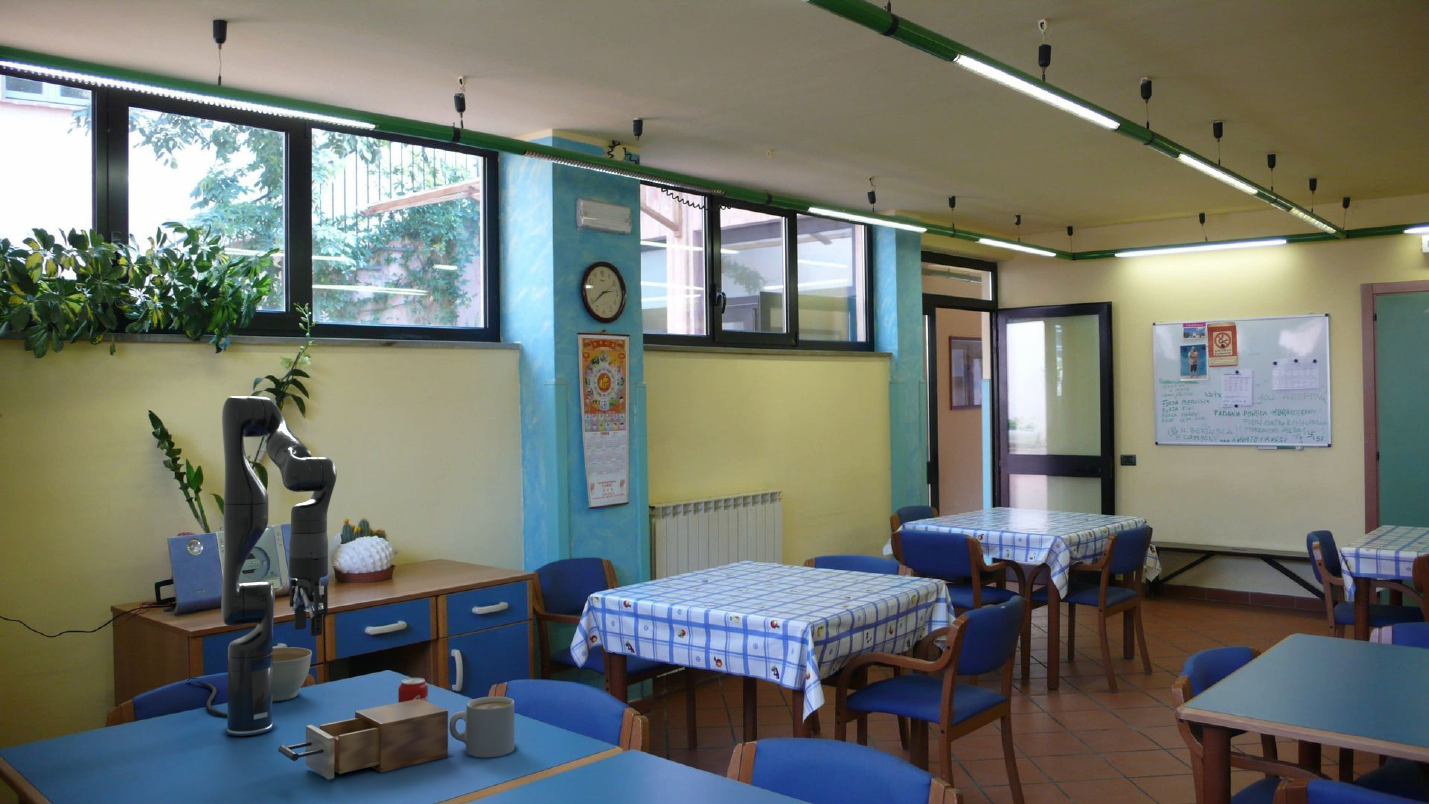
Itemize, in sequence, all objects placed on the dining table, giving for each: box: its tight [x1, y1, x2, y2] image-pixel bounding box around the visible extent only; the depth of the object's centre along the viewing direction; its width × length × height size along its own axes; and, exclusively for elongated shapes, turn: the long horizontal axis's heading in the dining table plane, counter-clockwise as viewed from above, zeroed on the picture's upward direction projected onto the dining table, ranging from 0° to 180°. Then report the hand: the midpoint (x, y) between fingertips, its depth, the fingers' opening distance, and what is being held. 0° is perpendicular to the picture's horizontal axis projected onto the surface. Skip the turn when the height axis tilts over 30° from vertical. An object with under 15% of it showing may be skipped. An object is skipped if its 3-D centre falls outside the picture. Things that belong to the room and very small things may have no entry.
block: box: [334, 736, 338, 763], centre depth 209 cm, size 4×4×4 cm
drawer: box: [277, 717, 380, 780], centre depth 207 cm, size 20×11×8 cm, turn 132°
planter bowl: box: [272, 646, 313, 702], centre depth 263 cm, size 16×16×11 cm
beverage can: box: [397, 677, 429, 703], centre depth 232 cm, size 6×6×12 cm
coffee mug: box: [448, 696, 515, 758], centre depth 222 cm, size 13×10×10 cm
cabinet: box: [354, 699, 449, 773], centre depth 217 cm, size 15×13×10 cm
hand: (308, 632), depth 216 cm, fingers open, 8 cm apart
